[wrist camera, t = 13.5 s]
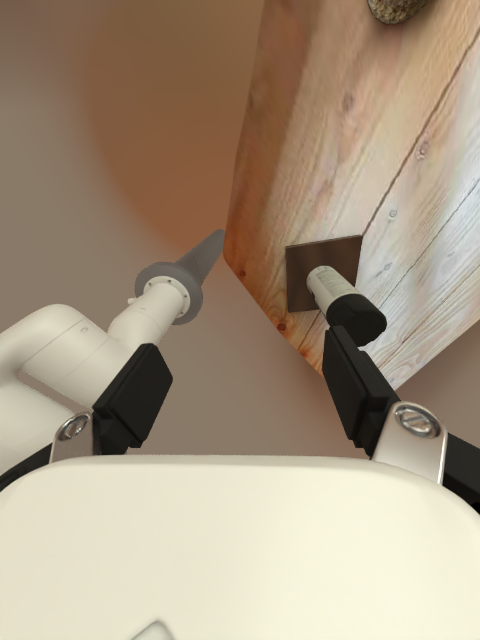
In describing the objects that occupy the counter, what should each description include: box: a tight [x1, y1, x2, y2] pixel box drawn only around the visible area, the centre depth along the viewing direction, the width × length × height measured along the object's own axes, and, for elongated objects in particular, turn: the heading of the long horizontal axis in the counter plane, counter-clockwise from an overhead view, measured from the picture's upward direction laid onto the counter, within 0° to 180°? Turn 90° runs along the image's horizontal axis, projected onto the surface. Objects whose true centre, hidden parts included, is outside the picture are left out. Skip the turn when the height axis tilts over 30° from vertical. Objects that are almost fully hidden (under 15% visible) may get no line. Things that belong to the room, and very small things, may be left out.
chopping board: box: [285, 235, 363, 313], centre depth 44 cm, size 15×16×2 cm
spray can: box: [307, 266, 387, 347], centre depth 35 cm, size 7×7×20 cm
